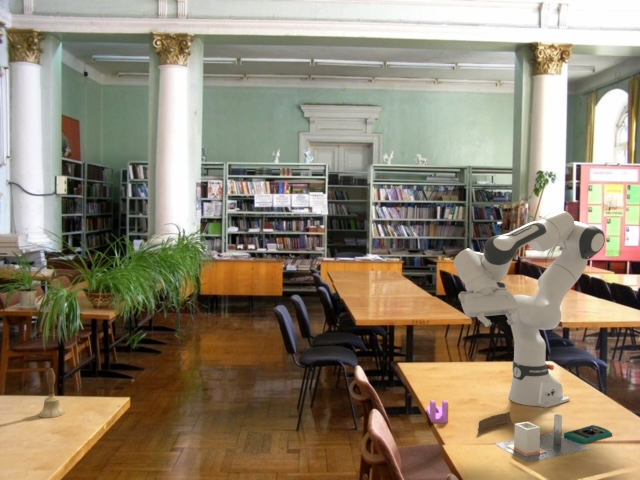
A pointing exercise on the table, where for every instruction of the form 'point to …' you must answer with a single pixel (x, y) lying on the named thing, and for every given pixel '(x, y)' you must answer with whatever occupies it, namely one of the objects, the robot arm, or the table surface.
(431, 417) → the bracket
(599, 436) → the digital multimeter
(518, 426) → the sleeve
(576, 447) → the post plate
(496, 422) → the brown bark piece
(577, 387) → the table surface
